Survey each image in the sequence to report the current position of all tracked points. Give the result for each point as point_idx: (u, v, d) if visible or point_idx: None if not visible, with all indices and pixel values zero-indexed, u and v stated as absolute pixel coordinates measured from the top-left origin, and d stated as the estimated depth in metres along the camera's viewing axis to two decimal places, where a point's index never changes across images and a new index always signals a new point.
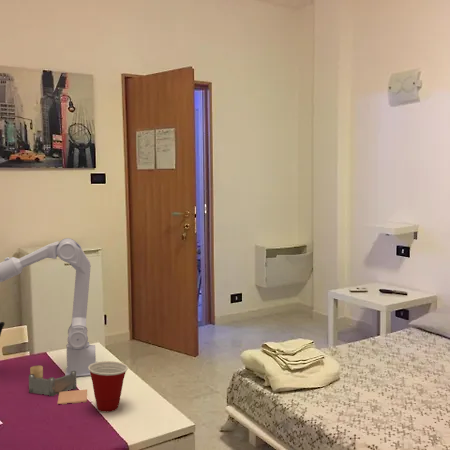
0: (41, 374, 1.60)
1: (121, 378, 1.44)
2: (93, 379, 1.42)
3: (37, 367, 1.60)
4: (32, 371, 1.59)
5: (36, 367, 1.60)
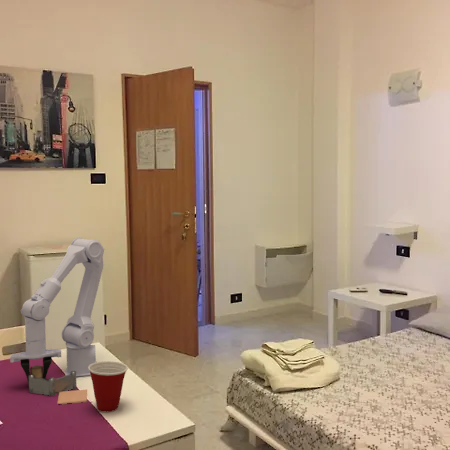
0: (41, 374, 1.60)
1: (121, 378, 1.44)
2: (93, 379, 1.42)
3: (37, 367, 1.60)
4: (32, 371, 1.59)
5: (36, 367, 1.60)
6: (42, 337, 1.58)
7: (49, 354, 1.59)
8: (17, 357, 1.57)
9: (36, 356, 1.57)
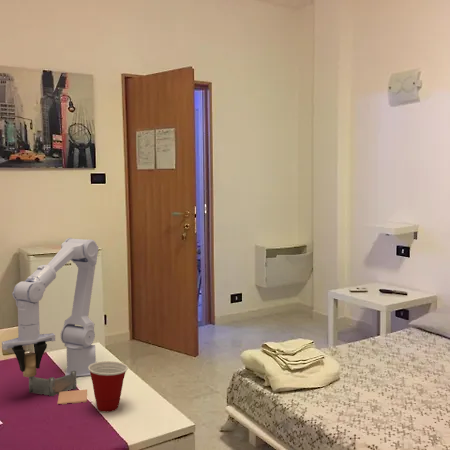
0: (35, 361, 1.52)
1: (121, 378, 1.44)
2: (93, 379, 1.42)
3: (30, 354, 1.52)
4: (26, 358, 1.50)
5: (29, 354, 1.52)
6: (37, 320, 1.50)
7: (44, 338, 1.52)
8: (11, 344, 1.47)
9: (32, 341, 1.49)
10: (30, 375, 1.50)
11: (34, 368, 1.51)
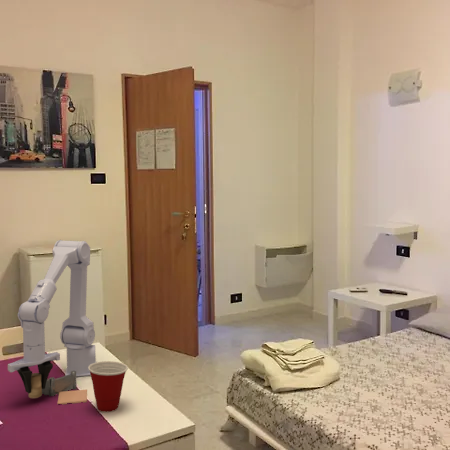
0: (40, 381, 1.50)
1: (121, 378, 1.44)
2: (93, 379, 1.42)
3: (35, 375, 1.50)
4: (32, 379, 1.48)
5: (34, 375, 1.50)
6: (43, 341, 1.48)
7: (50, 358, 1.50)
8: (18, 366, 1.44)
9: (39, 361, 1.47)
10: (36, 396, 1.49)
11: (40, 389, 1.49)
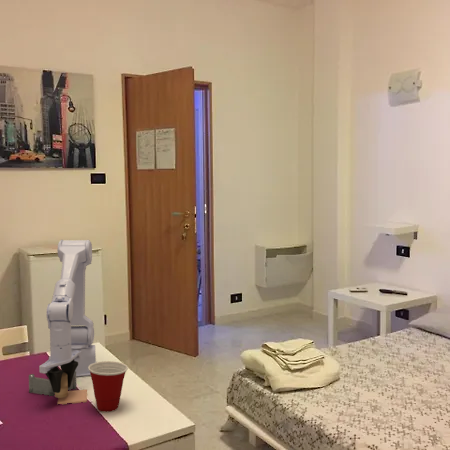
0: (67, 380, 1.51)
1: (121, 378, 1.44)
2: (93, 379, 1.42)
3: None
4: None
5: None
6: (71, 339, 1.50)
7: (75, 356, 1.52)
8: (50, 366, 1.44)
9: (69, 360, 1.48)
10: (65, 395, 1.49)
11: (67, 387, 1.50)
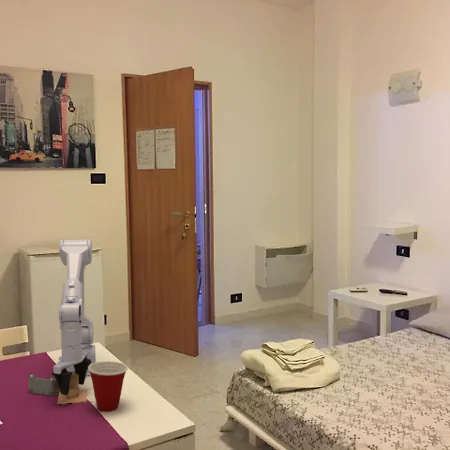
0: None
1: (121, 378, 1.44)
2: (93, 379, 1.42)
3: (72, 375, 1.52)
4: (73, 380, 1.51)
5: (71, 376, 1.52)
6: None
7: (85, 356, 1.55)
8: (64, 366, 1.46)
9: (80, 360, 1.51)
10: (76, 396, 1.52)
11: (78, 388, 1.53)
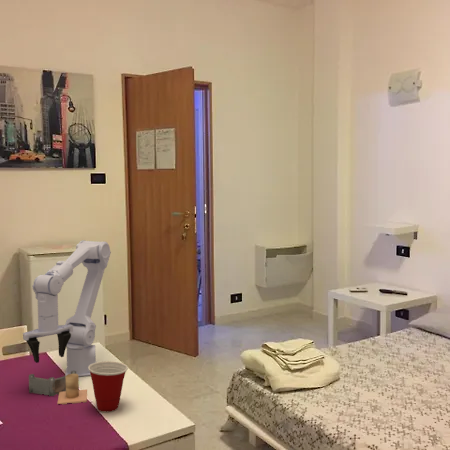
0: None
1: (121, 378, 1.44)
2: (93, 379, 1.42)
3: (72, 375, 1.52)
4: (72, 380, 1.51)
5: (71, 375, 1.52)
6: (57, 312, 1.56)
7: (63, 329, 1.58)
8: (32, 335, 1.53)
9: (52, 331, 1.55)
10: (76, 396, 1.52)
11: (78, 388, 1.53)
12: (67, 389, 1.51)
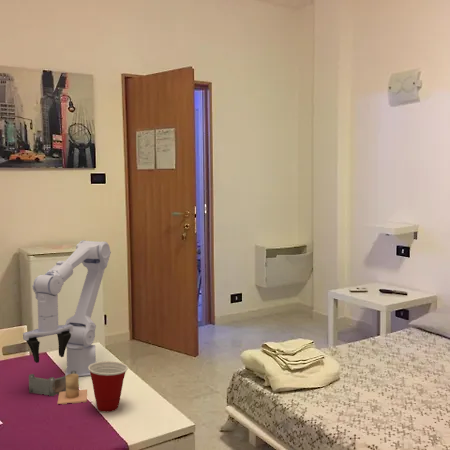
0: None
1: (121, 378, 1.44)
2: (93, 379, 1.42)
3: (72, 375, 1.52)
4: (73, 380, 1.51)
5: (71, 375, 1.52)
6: (57, 312, 1.56)
7: (63, 329, 1.58)
8: (32, 335, 1.53)
9: (52, 331, 1.55)
10: (76, 396, 1.52)
11: (78, 388, 1.53)
12: (67, 389, 1.51)
